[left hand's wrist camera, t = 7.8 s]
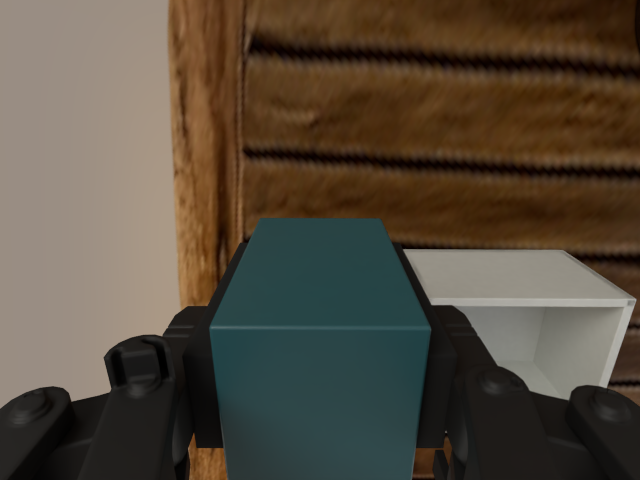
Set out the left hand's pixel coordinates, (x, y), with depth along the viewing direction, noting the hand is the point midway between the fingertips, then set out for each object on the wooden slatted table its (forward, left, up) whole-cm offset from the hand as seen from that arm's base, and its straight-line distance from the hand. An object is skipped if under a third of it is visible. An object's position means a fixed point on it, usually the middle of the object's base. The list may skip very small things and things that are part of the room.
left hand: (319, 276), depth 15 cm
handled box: (-13, +17, -16) cm, 27 cm away
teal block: (0, 0, 0) cm, 0 cm away
